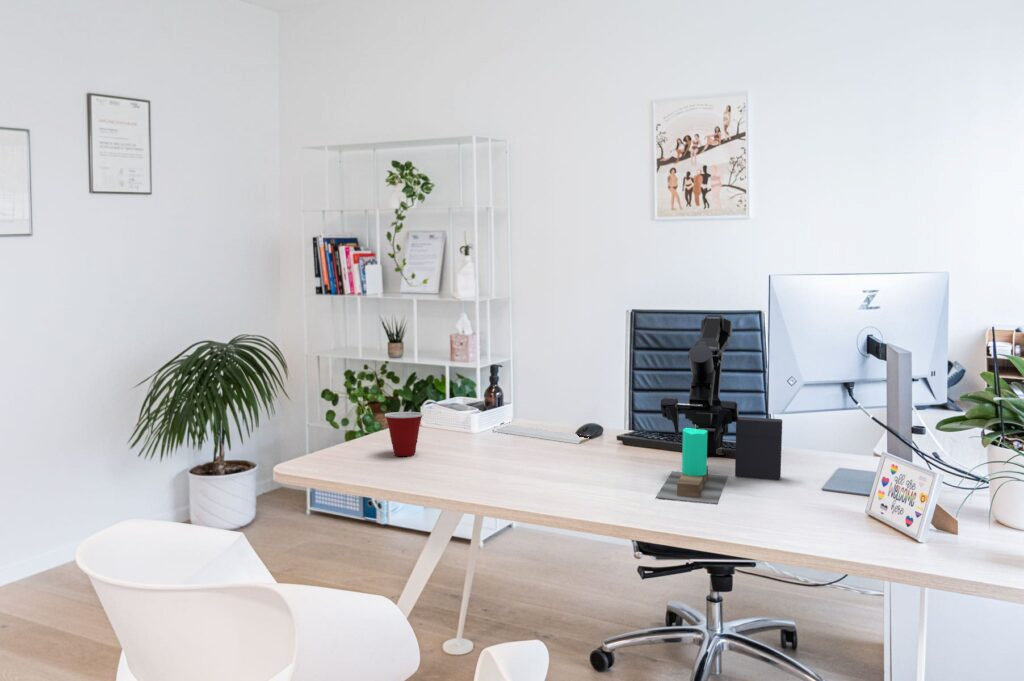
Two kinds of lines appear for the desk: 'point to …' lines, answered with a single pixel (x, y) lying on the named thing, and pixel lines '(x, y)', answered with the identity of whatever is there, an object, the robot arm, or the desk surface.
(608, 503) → the desk surface
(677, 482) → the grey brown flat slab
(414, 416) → the plastic cup
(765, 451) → the upright charcoal slab
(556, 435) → the baseboard
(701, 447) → the candle
